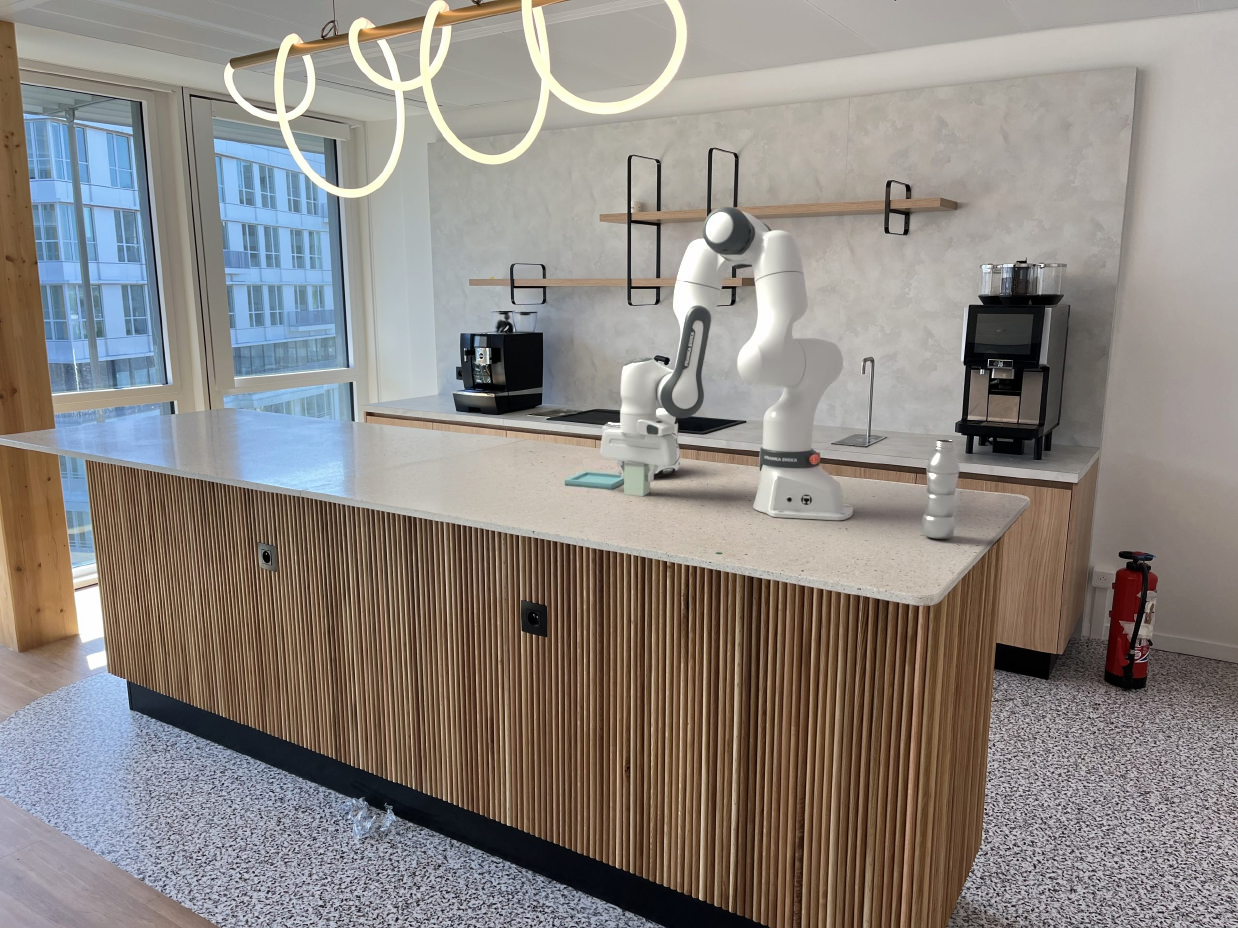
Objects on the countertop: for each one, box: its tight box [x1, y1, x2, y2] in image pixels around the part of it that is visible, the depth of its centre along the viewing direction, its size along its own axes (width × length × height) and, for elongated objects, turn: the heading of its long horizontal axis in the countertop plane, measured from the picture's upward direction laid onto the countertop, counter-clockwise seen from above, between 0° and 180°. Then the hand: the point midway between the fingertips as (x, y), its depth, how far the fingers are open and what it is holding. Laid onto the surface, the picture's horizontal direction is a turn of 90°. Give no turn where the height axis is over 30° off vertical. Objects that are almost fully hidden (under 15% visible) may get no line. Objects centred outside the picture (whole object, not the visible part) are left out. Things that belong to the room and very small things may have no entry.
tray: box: [564, 471, 624, 490], centre depth 233 cm, size 13×13×1 cm
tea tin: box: [623, 461, 651, 497], centre depth 220 cm, size 5×5×8 cm
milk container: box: [650, 408, 682, 478], centre depth 244 cm, size 17×17×18 cm
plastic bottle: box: [921, 439, 960, 540], centre depth 180 cm, size 6×7×20 cm
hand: (637, 480), depth 220 cm, fingers closed on tea tin, 5 cm apart
